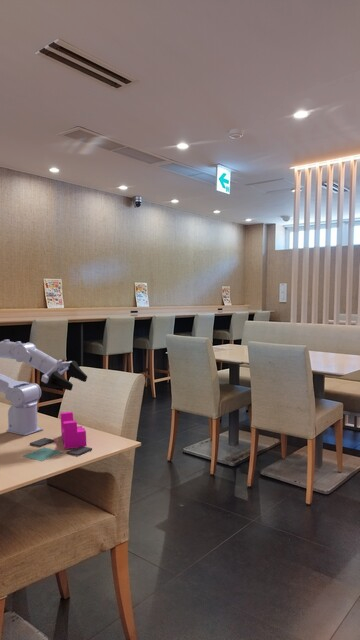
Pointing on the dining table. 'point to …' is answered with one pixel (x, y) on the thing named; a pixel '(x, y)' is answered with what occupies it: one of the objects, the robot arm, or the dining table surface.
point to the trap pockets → (74, 451)
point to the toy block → (72, 431)
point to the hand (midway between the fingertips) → (79, 383)
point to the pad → (42, 454)
